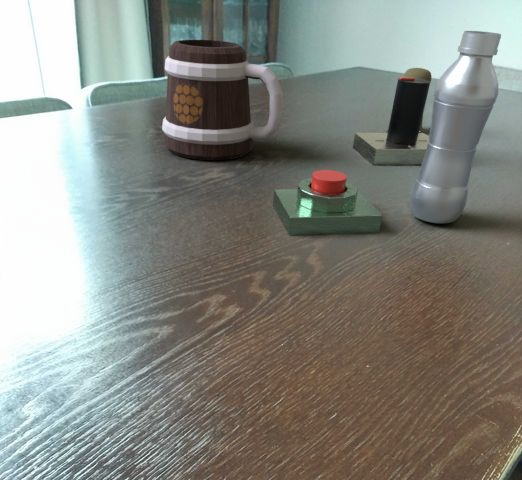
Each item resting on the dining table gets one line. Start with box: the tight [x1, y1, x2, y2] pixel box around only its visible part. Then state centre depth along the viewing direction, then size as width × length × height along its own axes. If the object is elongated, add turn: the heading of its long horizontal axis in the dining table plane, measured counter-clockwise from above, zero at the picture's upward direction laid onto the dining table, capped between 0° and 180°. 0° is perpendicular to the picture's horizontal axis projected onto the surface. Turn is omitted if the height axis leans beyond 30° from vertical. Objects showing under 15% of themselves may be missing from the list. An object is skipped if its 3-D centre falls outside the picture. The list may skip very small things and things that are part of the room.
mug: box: [161, 39, 284, 161], centre depth 77 cm, size 20×15×15 cm
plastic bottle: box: [409, 30, 502, 224], centre depth 56 cm, size 6×7×20 cm
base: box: [352, 132, 429, 166], centre depth 84 cm, size 13×10×3 cm
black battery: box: [386, 76, 431, 144], centre depth 80 cm, size 5×5×9 cm
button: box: [311, 169, 348, 194], centre depth 58 cm, size 4×4×2 cm
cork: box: [403, 67, 432, 133], centre depth 96 cm, size 6×6×11 cm
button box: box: [272, 177, 383, 236], centre depth 60 cm, size 11×9×4 cm
